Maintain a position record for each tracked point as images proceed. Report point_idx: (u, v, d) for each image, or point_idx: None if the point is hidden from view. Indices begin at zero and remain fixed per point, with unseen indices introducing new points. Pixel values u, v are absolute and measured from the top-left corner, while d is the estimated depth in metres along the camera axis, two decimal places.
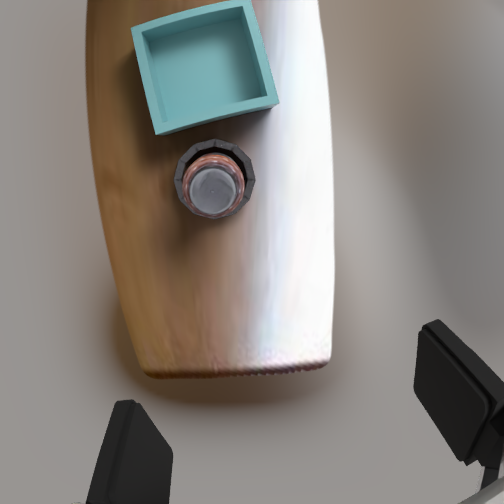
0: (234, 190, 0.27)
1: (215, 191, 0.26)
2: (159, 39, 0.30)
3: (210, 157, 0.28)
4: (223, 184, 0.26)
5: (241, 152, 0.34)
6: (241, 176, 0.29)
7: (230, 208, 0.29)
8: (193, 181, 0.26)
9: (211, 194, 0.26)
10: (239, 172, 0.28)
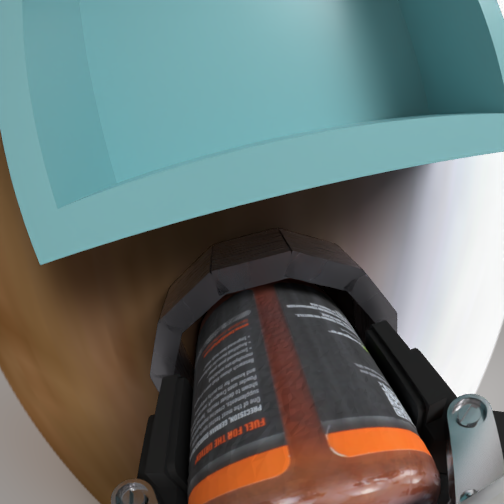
0: None
1: None
2: None
3: (342, 496, 0.04)
4: None
5: (375, 295, 0.10)
6: (438, 492, 0.04)
7: None
8: None
9: None
10: (439, 488, 0.04)
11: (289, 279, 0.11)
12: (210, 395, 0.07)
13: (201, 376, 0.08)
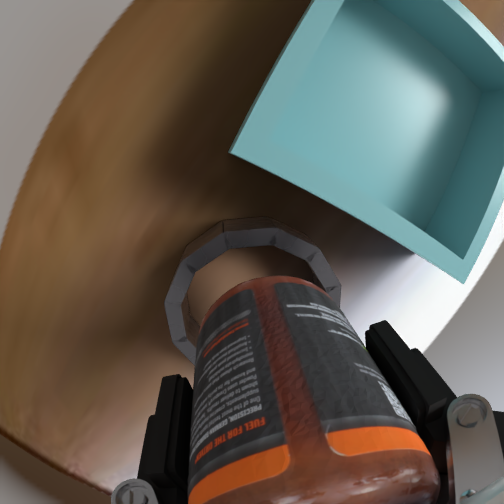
0: None
1: None
2: None
3: (341, 495, 0.04)
4: None
5: None
6: None
7: None
8: None
9: None
10: (438, 487, 0.04)
11: (289, 279, 0.11)
12: (210, 394, 0.07)
13: (201, 376, 0.08)
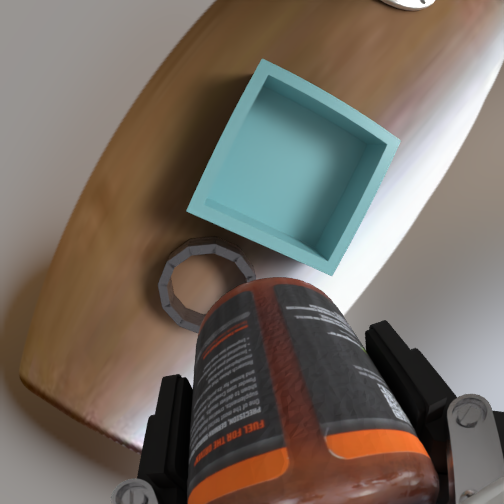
0: None
1: None
2: (274, 92, 0.25)
3: (340, 498, 0.04)
4: None
5: None
6: None
7: None
8: None
9: None
10: (437, 490, 0.04)
11: (288, 280, 0.11)
12: (209, 396, 0.07)
13: (200, 378, 0.08)
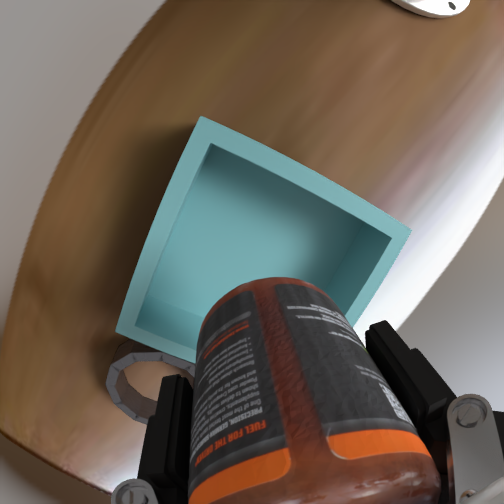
0: None
1: None
2: (232, 153, 0.18)
3: (343, 498, 0.04)
4: None
5: None
6: None
7: None
8: None
9: None
10: (439, 490, 0.04)
11: (289, 280, 0.11)
12: (211, 397, 0.07)
13: (201, 378, 0.08)
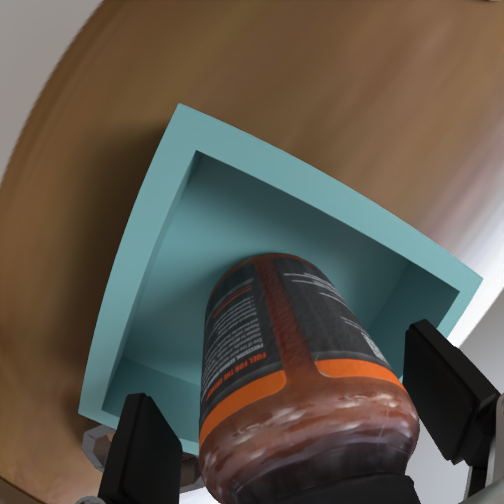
0: None
1: None
2: None
3: (329, 407, 0.05)
4: None
5: None
6: (418, 432, 0.06)
7: None
8: None
9: None
10: (417, 425, 0.06)
11: (286, 255, 0.13)
12: (220, 344, 0.09)
13: (211, 333, 0.10)
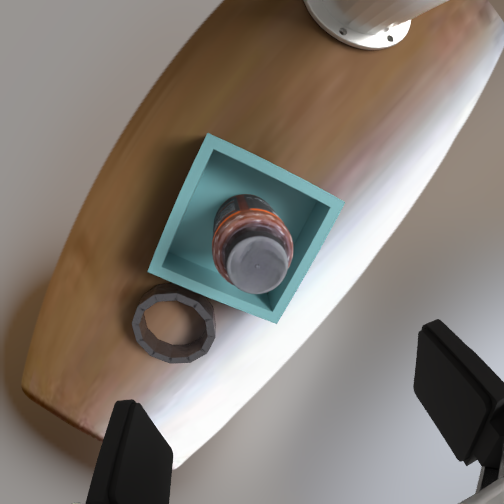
0: (286, 264, 0.20)
1: (262, 266, 0.20)
2: (226, 155, 0.28)
3: (251, 214, 0.22)
4: (272, 257, 0.20)
5: (212, 327, 0.32)
6: (290, 239, 0.22)
7: None
8: (232, 253, 0.20)
9: (255, 270, 0.20)
10: (288, 234, 0.22)
11: (250, 194, 0.29)
12: (220, 216, 0.25)
13: (217, 218, 0.26)
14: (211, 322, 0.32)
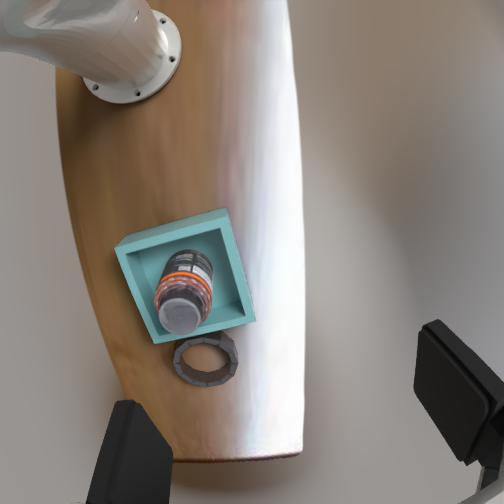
0: (193, 305, 0.28)
1: (181, 315, 0.28)
2: None
3: (160, 286, 0.30)
4: (181, 307, 0.28)
5: (226, 346, 0.41)
6: (193, 282, 0.30)
7: (207, 309, 0.31)
8: (160, 320, 0.28)
9: (180, 320, 0.28)
10: (189, 280, 0.30)
11: (175, 253, 0.37)
12: None
13: None
14: (222, 343, 0.41)
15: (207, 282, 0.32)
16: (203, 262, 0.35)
